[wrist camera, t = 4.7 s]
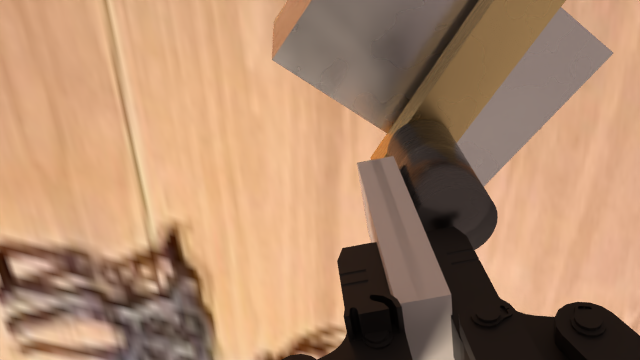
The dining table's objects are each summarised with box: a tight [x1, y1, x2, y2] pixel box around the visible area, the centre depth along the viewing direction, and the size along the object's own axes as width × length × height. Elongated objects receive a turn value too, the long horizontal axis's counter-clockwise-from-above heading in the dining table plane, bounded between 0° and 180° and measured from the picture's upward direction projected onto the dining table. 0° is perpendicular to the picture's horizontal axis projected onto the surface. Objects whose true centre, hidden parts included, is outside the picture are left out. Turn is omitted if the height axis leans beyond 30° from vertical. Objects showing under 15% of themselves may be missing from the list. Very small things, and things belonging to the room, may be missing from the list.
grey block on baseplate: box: [272, 0, 613, 187], centre depth 21 cm, size 10×7×5 cm
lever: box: [371, 0, 566, 250], centre depth 15 cm, size 13×4×6 cm, turn 150°
